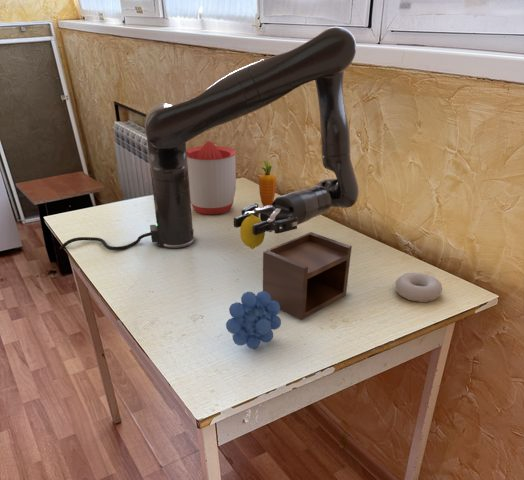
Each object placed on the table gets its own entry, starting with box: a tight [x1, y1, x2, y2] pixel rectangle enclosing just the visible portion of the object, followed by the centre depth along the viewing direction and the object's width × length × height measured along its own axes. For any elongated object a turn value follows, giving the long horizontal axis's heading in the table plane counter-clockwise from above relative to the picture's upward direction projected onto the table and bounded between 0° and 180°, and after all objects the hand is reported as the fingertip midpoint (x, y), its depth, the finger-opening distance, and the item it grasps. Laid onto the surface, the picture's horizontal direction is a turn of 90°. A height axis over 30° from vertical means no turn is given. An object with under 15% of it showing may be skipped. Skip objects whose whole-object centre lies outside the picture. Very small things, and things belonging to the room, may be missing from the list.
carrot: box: [258, 159, 277, 207], centre depth 148 cm, size 5×5×15 cm
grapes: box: [225, 290, 282, 350], centre depth 88 cm, size 12×7×12 cm, turn 125°
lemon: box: [239, 215, 266, 250], centre depth 111 cm, size 6×6×8 cm
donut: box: [394, 272, 443, 303], centre depth 109 cm, size 10×4×10 cm
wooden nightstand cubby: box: [262, 231, 352, 321], centre depth 104 cm, size 15×11×12 cm
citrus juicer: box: [186, 140, 237, 215], centre depth 148 cm, size 16×17×20 cm
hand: (244, 226), depth 108 cm, fingers closed on lemon, 5 cm apart
